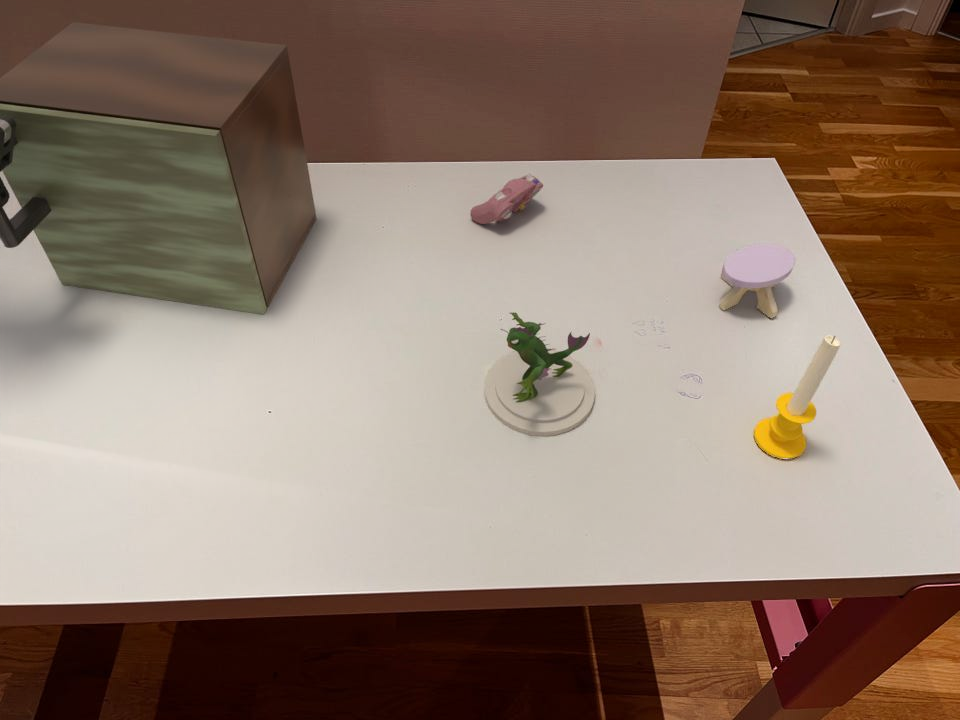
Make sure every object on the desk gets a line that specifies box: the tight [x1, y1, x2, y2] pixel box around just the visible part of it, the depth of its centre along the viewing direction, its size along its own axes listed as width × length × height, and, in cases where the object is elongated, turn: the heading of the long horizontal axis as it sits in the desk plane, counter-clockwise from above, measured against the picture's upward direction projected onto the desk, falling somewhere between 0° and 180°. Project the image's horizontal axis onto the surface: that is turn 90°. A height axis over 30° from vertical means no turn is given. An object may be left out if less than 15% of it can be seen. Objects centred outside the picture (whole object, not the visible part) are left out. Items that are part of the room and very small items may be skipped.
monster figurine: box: [483, 311, 596, 437], centre depth 77 cm, size 12×12×10 cm
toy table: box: [718, 243, 796, 319], centre depth 90 cm, size 10×9×6 cm
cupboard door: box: [0, 104, 268, 315], centre depth 79 cm, size 8×26×24 cm, turn 80°
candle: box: [753, 334, 841, 459], centre depth 72 cm, size 5×5×16 cm
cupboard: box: [0, 22, 318, 309], centre depth 87 cm, size 18×26×24 cm
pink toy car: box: [469, 173, 544, 225], centre depth 100 cm, size 10×5×7 cm, turn 137°
